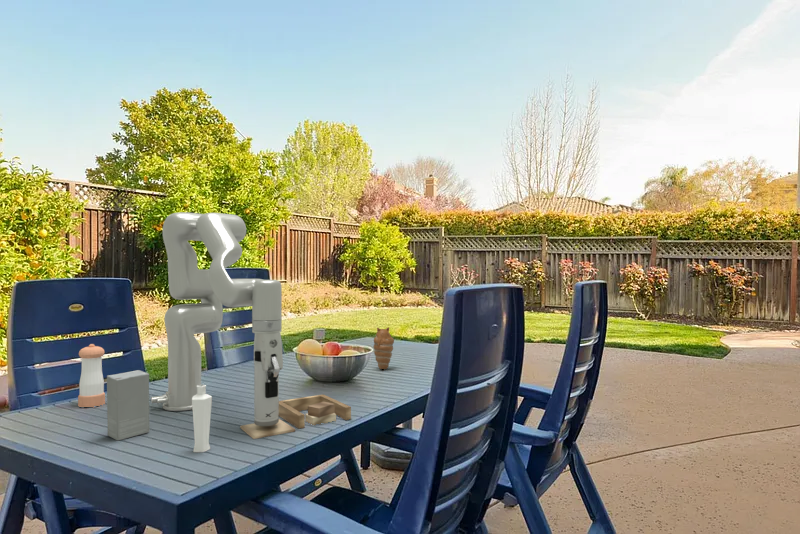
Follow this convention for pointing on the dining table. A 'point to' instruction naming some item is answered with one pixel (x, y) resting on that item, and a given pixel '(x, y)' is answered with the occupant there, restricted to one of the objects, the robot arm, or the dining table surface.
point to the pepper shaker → (91, 377)
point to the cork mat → (267, 429)
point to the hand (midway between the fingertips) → (266, 393)
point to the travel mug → (263, 397)
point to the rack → (296, 418)
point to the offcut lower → (320, 419)
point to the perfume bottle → (201, 418)
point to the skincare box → (127, 404)
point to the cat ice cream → (383, 347)
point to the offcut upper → (321, 409)
